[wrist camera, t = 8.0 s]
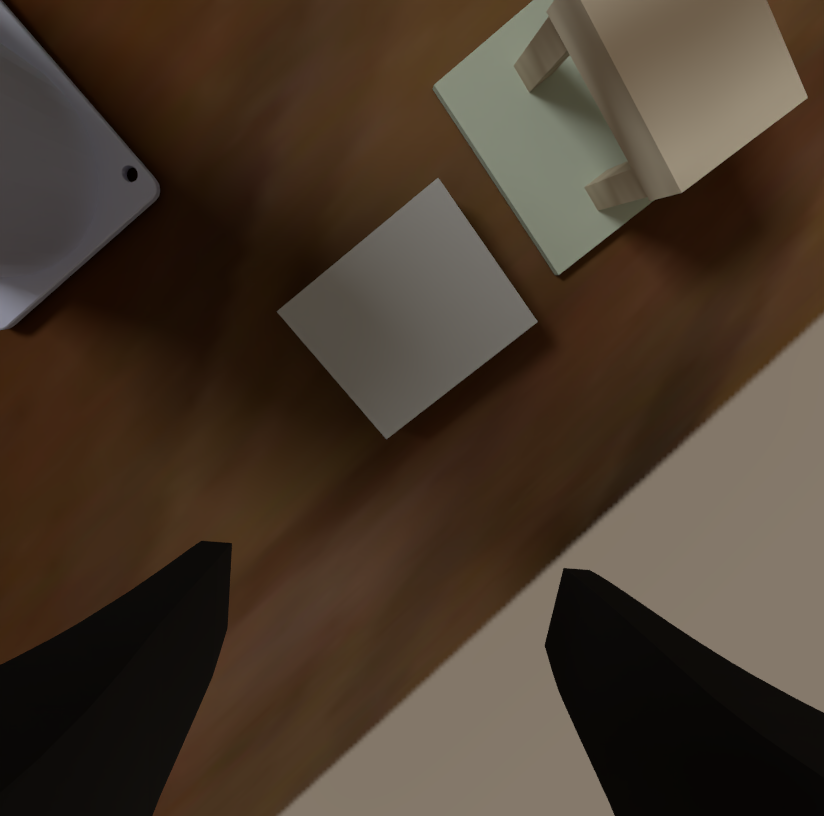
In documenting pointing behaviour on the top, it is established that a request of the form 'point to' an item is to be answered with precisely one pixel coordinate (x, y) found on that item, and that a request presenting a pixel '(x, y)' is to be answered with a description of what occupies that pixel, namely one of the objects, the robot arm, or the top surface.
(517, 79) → the mat
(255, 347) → the top surface
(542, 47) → the beige toy stool
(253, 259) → the top surface
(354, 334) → the step
